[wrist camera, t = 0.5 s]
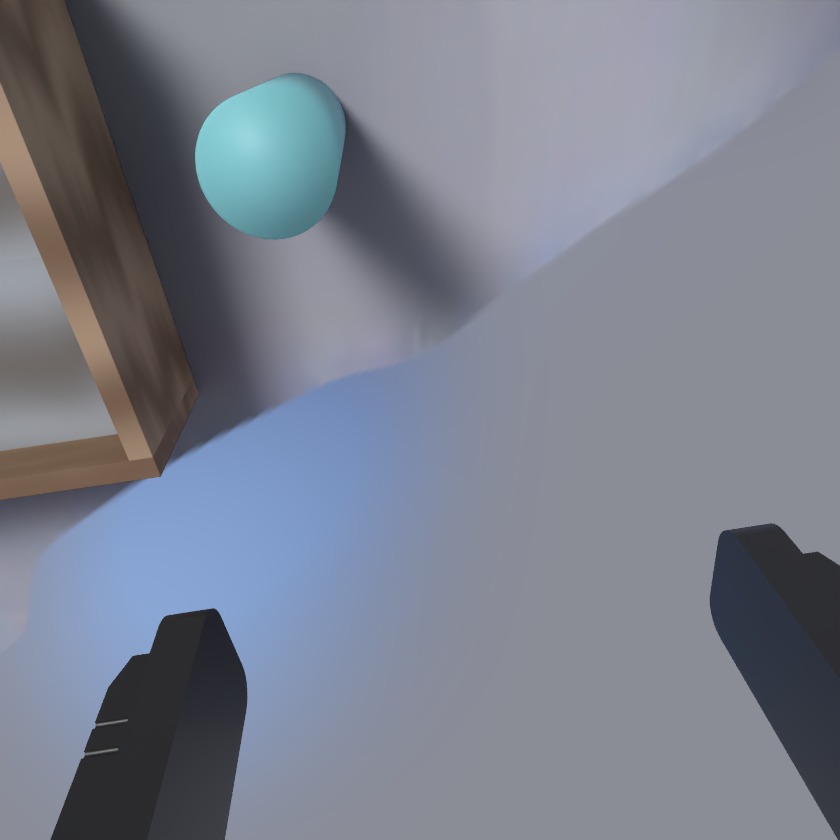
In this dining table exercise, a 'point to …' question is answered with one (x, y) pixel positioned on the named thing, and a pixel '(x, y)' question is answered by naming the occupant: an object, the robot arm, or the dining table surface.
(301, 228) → the peg
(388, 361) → the dining table surface
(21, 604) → the dining table surface
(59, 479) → the bore box
